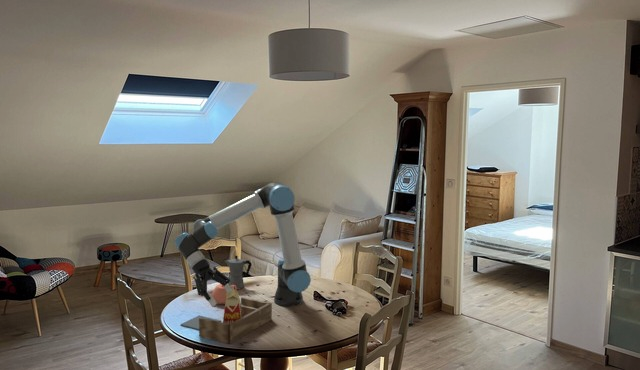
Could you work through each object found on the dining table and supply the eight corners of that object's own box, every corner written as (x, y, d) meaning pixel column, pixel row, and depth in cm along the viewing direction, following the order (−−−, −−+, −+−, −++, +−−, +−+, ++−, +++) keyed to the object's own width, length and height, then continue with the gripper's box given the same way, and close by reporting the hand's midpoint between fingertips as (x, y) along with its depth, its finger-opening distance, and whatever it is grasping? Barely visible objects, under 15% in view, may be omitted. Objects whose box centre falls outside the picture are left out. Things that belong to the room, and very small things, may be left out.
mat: (180, 325, 241) (180, 324, 241) (199, 316, 252) (199, 315, 252) (202, 331, 235) (202, 329, 235) (221, 321, 246) (221, 320, 246)
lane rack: (199, 336, 230) (199, 318, 229) (242, 312, 258) (242, 297, 257) (230, 344, 222) (230, 326, 221) (271, 319, 251) (271, 303, 250)
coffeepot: (222, 288, 295) (222, 257, 293) (227, 283, 304) (227, 253, 302) (249, 290, 293) (249, 258, 291) (253, 285, 302) (253, 254, 300)
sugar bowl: (208, 300, 275) (208, 281, 274) (233, 296, 282) (233, 277, 281) (215, 307, 265) (215, 288, 263) (242, 303, 272) (242, 284, 270)
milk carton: (223, 327, 240) (223, 285, 237) (243, 327, 240) (243, 285, 238) (221, 335, 231) (221, 291, 228) (242, 335, 231) (242, 291, 229)
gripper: (211, 261, 252) (236, 297, 247) (174, 274, 230) (201, 314, 225) (220, 252, 249) (245, 288, 244) (183, 264, 227) (211, 304, 222)
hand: (224, 301), depth 235 cm, fingers open, 13 cm apart
